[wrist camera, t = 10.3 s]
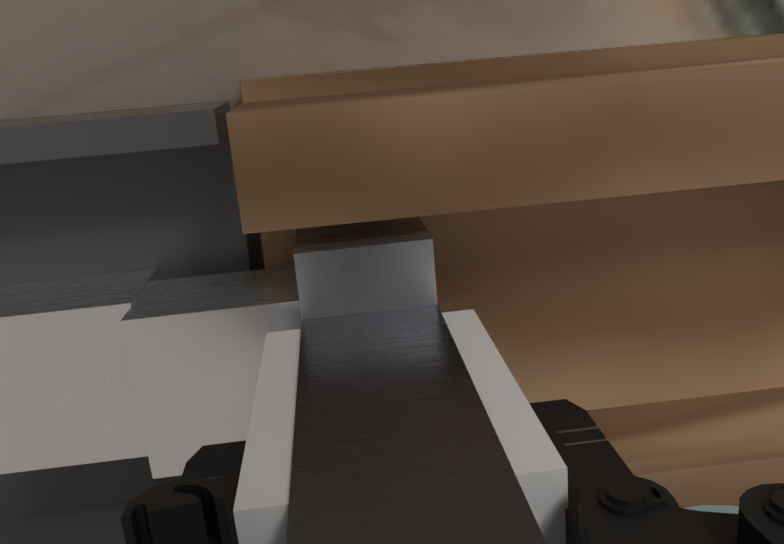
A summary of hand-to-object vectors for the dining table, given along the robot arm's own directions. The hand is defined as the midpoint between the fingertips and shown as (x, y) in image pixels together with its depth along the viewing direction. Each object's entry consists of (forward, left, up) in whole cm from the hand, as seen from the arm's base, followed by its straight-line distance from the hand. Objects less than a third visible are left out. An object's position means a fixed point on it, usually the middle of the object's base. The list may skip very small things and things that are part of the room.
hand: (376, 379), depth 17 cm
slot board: (0, +6, -5) cm, 9 cm away
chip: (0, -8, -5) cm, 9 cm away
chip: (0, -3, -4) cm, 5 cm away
